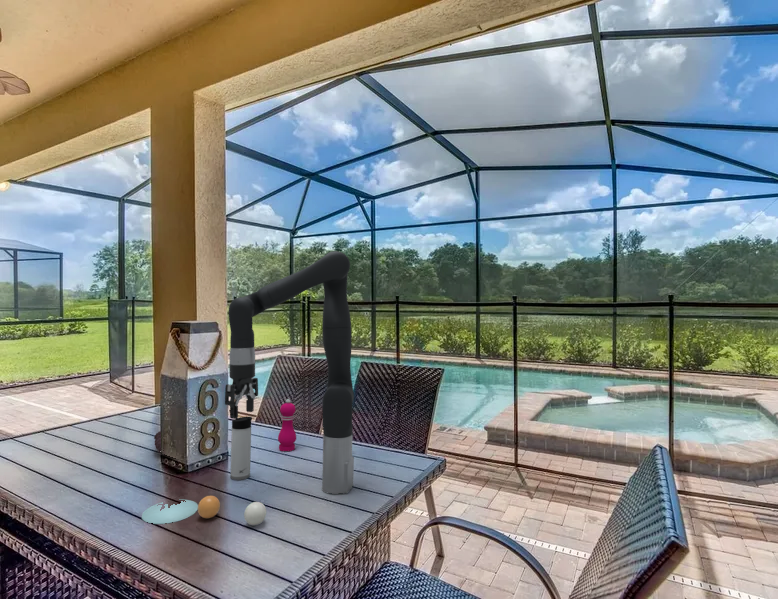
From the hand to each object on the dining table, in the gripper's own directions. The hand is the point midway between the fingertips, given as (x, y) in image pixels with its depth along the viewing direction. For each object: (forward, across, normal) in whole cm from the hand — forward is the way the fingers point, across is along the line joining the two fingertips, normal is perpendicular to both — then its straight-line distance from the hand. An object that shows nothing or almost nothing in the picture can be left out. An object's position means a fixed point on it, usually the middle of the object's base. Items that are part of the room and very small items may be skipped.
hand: (242, 414), depth 135 cm
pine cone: (+23, +22, +46) cm, 56 cm away
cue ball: (+21, -16, -14) cm, 30 cm away
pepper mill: (+24, +41, +6) cm, 48 cm away
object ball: (+21, -16, 0) cm, 26 cm away
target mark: (+24, -16, +12) cm, 31 cm away
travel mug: (+24, +11, +8) cm, 27 cm away
